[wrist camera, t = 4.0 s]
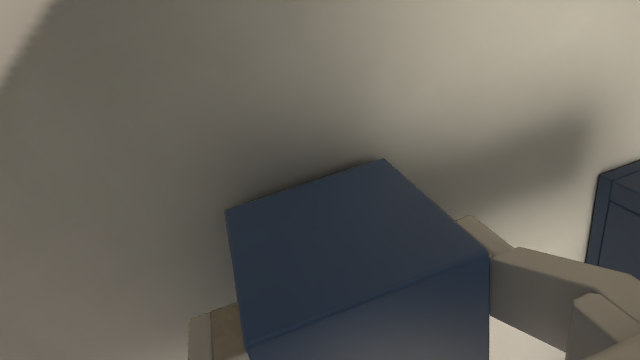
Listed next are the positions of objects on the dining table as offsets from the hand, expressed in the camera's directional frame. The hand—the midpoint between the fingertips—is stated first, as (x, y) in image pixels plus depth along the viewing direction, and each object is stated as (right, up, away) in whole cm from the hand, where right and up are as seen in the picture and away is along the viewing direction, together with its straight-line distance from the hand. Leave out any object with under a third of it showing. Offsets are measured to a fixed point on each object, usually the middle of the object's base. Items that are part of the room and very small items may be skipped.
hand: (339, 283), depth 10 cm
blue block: (0, +1, +1) cm, 2 cm away
